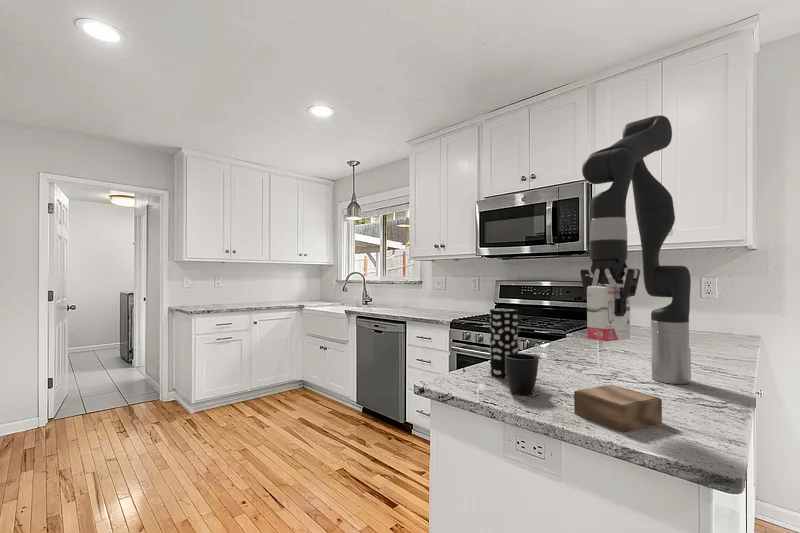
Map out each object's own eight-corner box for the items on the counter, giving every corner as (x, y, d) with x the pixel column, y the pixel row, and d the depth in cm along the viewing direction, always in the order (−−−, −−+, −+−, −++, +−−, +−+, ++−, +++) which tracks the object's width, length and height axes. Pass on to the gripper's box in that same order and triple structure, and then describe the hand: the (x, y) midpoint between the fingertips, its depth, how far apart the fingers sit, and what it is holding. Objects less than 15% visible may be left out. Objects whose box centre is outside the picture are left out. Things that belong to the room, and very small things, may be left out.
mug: (551, 390, 110) (551, 354, 111) (526, 399, 103) (525, 361, 103) (524, 384, 117) (524, 350, 117) (498, 392, 109) (498, 356, 109)
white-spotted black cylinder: (521, 378, 123) (521, 311, 123) (493, 378, 123) (493, 311, 123) (514, 371, 131) (513, 308, 131) (488, 371, 131) (487, 308, 131)
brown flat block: (611, 405, 98) (611, 383, 98) (661, 422, 87) (661, 397, 87) (574, 413, 93) (574, 390, 93) (623, 432, 82) (622, 405, 82)
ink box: (604, 341, 88) (604, 286, 89) (585, 338, 93) (585, 285, 93) (631, 339, 92) (631, 286, 92) (611, 336, 96) (611, 285, 97)
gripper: (650, 237, 88) (650, 317, 87) (593, 242, 101) (593, 311, 101) (625, 235, 85) (625, 318, 84) (570, 240, 98) (570, 312, 98)
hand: (608, 314), depth 93 cm, fingers closed on ink box, 5 cm apart
